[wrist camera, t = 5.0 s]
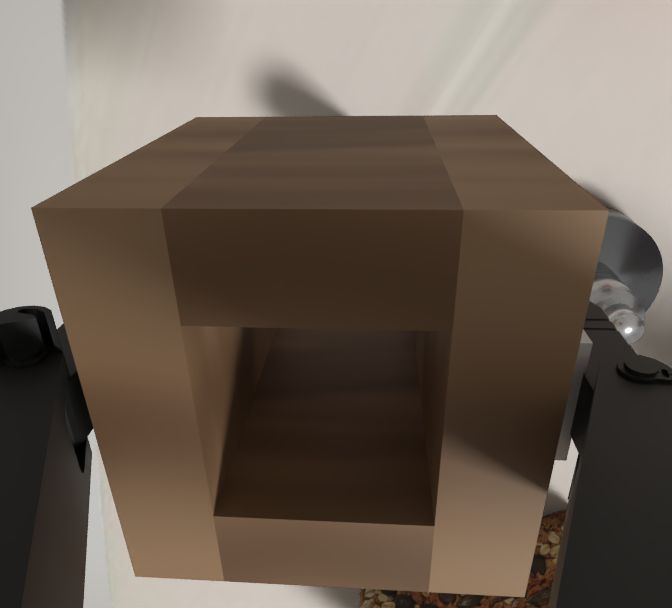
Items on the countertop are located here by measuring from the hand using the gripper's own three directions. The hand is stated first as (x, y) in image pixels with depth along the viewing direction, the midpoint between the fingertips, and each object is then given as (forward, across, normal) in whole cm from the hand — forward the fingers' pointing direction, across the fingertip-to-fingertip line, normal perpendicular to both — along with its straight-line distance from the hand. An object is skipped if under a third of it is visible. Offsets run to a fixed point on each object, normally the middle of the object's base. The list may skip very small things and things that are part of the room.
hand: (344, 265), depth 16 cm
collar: (0, 0, 0) cm, 0 cm away
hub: (+15, +13, -6) cm, 21 cm away
